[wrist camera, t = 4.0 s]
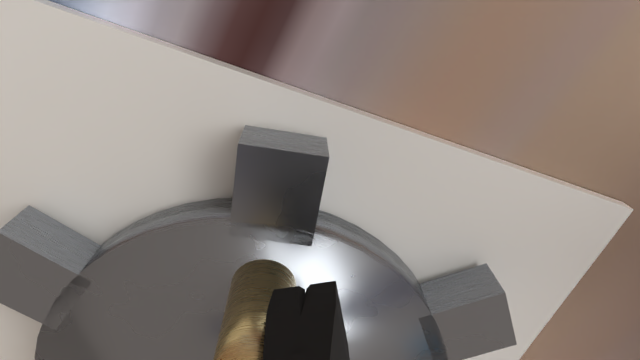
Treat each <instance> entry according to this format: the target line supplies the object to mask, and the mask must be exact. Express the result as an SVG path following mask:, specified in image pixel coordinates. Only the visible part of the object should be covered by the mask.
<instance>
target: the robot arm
mask: <svg viewBox="0 0 640 360" xmlns="http://www.w3.org/2000/svg"><path fill="white" fill-rule="evenodd" d="M263 360H350V357H349V348H348V341H347V336H346V331H345V326H344V320H343V315H342V310H341V305H340V300H339V294H338V289H337V284H336V281H330V282H323V283H316V284H310V285H309V286H308V288H307V289H306V293H305V289H303V288H302V287H300V286H295V287H288V288H281V289H274V290H273V293H272V296H271V299H270V302H269V305H268V309H267V313H266V324H265V335H264V348H263Z"/></svg>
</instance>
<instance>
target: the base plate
mask: <svg viewBox="0 0 640 360" xmlns="http://www.w3.org/2000/svg"><path fill="white" fill-rule="evenodd" d="M245 125H248V126H255V127H261V128H268V129H274V130H280V131H287V132H293V133H300V134H306V135H313V136H319V137H326V138H327V144H328V151H329V162H328V167H327V172H326V177H325V182H324V187H323V192H322V197H321V202H320V207H319V210H321V211H324V212H327V213H330V214H333V215H335V216H337V217H340V218H342V219H344V220H346V221H348V222H350V223H353V224H355V225H357V226H358V227H360V228H362V229H363V230H365V231H366V232H368V233H370V234H371V235H373V236H374V237H376V238H378V239H379V240H380V241H381V242H382V243H384V244H385V245H386V246H387V247H388V248H390V249H391V250H392V251H393V252H394V253H396V254H397V255H398V256H399V258H400V259H401V260H402V261H403V262H404V263H405V264H406V265H407V267H408V268H409V269H410V270H411V271H412V272H413V274H414V276H415V277H416V279H417V280H418V282H419V283H424V282H427V281H430V280H433V279H437V278H440V277H443V276H447V275H450V274H453V273H456V272H460V271H463V270H466V269H469V268H473V267H476V266H479V265H482V264H486V263H487V265H488V266H489V268H490V269H491V271H492V273H493V274H494V276H495V277H496V279H497V280H498V282H499V283H500V285H501V286H502V288H503V290H504V291H505V293H506V297H507V302H508V306H509V311H510V315H511V320H512V325H513V329H514V334H515V338H516V343H517V345H514V346H510V347H507V348H503V349H500V350H496V351H492V352H489V353H485V354H482V355H478V356H475V357H471V358H467V359H464V360H519V359H520V358H521V356H522V355H523V354H524V353H525V351H526V350H527V349H528V347H529V346H530V345H531V343H532V342H533V341H534V339H535V338H536V337H537V336H538V334H539V333H540V332H541V330H542V329H543V328H544V326H545V325H546V324H547V322H548V321H549V320H550V319H551V317H552V316H553V315H554V313H555V312H556V311H557V309H558V308H559V307H560V306H561V304H562V303H563V302H564V300H565V299H566V298H567V296H568V295H569V294H570V292H571V291H572V290H573V289H574V287H575V286H576V285H577V283H578V282H579V281H580V279H581V278H582V277H583V275H584V274H585V273H586V272H587V270H588V269H589V268H590V266H591V265H592V264H593V262H594V261H595V260H596V258H597V257H598V256H599V255H600V253H601V252H602V251H603V249H604V248H605V247H606V245H607V244H608V243H609V241H610V240H611V239H612V238H613V236H614V235H615V234H616V232H617V231H618V230H619V228H620V227H621V226H622V224H623V223H624V222H625V221H626V219H627V218H628V217H629V215H630V214H631V213H632V211H633V210H634V209H632V208H631V207H629V206H628V205H627V204H625V203H624V202H622V201H619V200H616V199H613V198H610V197H607V196H604V195H602V194H599V193H596V192H593V191H590V190H587V189H584V188H582V187H579V186H576V185H573V184H570V183H567V182H565V181H562V180H559V179H556V178H553V177H550V176H547V175H545V174H542V173H539V172H536V171H533V170H530V169H527V168H525V167H522V166H519V165H516V164H513V163H510V162H507V161H505V160H502V159H499V158H496V157H493V156H490V155H488V154H485V153H482V152H479V151H476V150H473V149H470V148H468V147H465V146H462V145H459V144H456V143H453V142H450V141H448V140H445V139H442V138H439V137H436V136H433V135H431V134H428V133H425V132H422V131H419V130H416V129H413V128H411V127H408V126H405V125H402V124H399V123H396V122H393V121H391V120H388V119H385V118H382V117H379V116H376V115H374V114H371V113H368V112H365V111H362V110H359V109H356V108H354V107H351V106H348V105H345V104H342V103H339V102H336V101H334V100H331V99H328V98H325V97H322V96H319V95H316V94H314V93H311V92H308V91H305V90H302V89H299V88H297V87H294V86H291V85H288V84H285V83H282V82H279V81H277V80H274V79H271V78H268V77H265V76H262V75H259V74H257V73H254V72H251V71H248V70H245V69H242V68H240V67H237V66H234V65H231V64H228V63H225V62H222V61H220V60H217V59H214V58H211V57H208V56H205V55H202V54H200V53H197V52H194V51H191V50H188V49H185V48H182V47H180V46H177V45H174V44H171V43H168V42H165V41H163V40H160V39H157V38H154V37H151V36H148V35H145V34H143V33H140V32H137V31H134V30H131V29H128V28H125V27H123V26H120V25H117V24H114V23H111V22H108V21H106V20H103V19H100V18H97V17H94V16H91V15H88V14H86V13H83V12H80V11H77V10H74V9H71V8H68V7H66V6H63V5H60V4H57V3H54V2H51V1H48V0H0V229H1V228H2V227H3V226H4V225H5V224H7V223H8V222H9V221H10V220H11V219H13V218H14V217H15V216H16V215H18V214H19V213H20V212H21V211H22V210H24V209H25V208H26V207H27V206H28V205H30V206H32V207H33V208H35V209H37V210H39V211H40V212H42V213H44V214H46V215H48V216H49V217H51V218H53V219H55V220H56V221H58V222H60V223H62V224H63V225H65V226H67V227H69V228H71V229H72V230H74V231H76V232H78V233H79V234H81V235H83V236H85V237H86V238H88V239H90V240H92V241H94V242H95V243H97V244H99V245H102V244H103V243H104V242H105V241H107V240H108V239H109V238H110V237H111V236H113V235H114V234H116V233H117V232H119V231H121V230H122V229H124V228H126V227H127V226H129V225H130V224H132V223H134V222H135V221H138V220H140V219H142V218H145V217H147V216H149V215H152V214H154V213H156V212H159V211H161V210H165V209H168V208H172V207H175V206H179V205H182V204H186V203H191V202H197V201H204V200H210V199H217V198H233V188H234V178H235V168H236V158H237V147H238V142H239V139H240V137H241V134H242V132H243V129H244V127H245ZM41 326H42V323H40V322H38V321H36V320H34V319H32V318H30V317H28V316H25V315H23V314H21V313H19V312H17V311H15V310H13V309H11V308H9V307H7V306H5V305H3V304H1V303H0V360H35V358H34V357H35V350H36V343H37V337H38V334H39V332H40V329H41Z"/></svg>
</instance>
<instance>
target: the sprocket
mask: <svg viewBox="0 0 640 360" xmlns="http://www.w3.org/2000/svg"><path fill="white" fill-rule="evenodd" d="M328 162H329V151H328V144H327V138H326V137H319V136H313V135H306V134H300V133H293V132H287V131H280V130H274V129H268V128H261V127H255V126H248V125H245V127H244V129H243V132H242V134H241V137H240V139H239V142H238V147H237V158H236V168H235V178H234V188H233V198H217V199H210V200H204V201H197V202H191V203H186V204H182V205H179V206H175V207H172V208H168V209H165V210H161V211H159V212H156V213H154V214H152V215H149V216H147V217H145V218H142V219H140V220H138V221H135V222H134V223H132V224H130V225H129V226H127V227H126V228H124V229H122V230H121V231H119V232H117V233H116V234H114V235H113V236H111V237H110V238H109V239H108V240H107V241H105V242H104V243H103V244H102V245H99V244H97V243H95V242H94V241H92V240H90V239H88V238H86V237H85V236H83V235H81V234H79V233H78V232H76V231H74V230H72V229H71V228H69V227H67V226H65V225H63V224H62V223H60V222H58V221H56V220H55V219H53V218H51V217H49V216H48V215H46V214H44V213H42V212H40V211H39V210H37V209H35V208H33V207H32V206H30V205H28V206H27V207H26V208H25V209H24V210H22V211H21V212H20V213H19V214H18V215H16V216H15V217H14V218H13V219H11V220H10V221H9V222H8V223H7V224H5V225H4V226H3V227H2V228H1V229H0V303H1V304H3V305H5V306H7V307H9V308H11V309H13V310H15V311H17V312H19V313H21V314H23V315H25V316H28V317H30V318H32V319H34V320H36V321H38V322H40V323H42V326H41V329H40V332H39V334H38V337H37V343H36V350H35V357H34V358H35V360H263V348H264V335H265V324H266V313H267V309H268V305H269V302H270V299H271V296H272V293H273V290H274V289H281V288H288V287H295V286H300V287H302V288H303V289H305V293H306V289H307V288H308V286H309V285H310V284H316V283H323V282H330V281H336V284H337V289H338V294H339V300H340V305H341V310H342V315H343V320H344V326H345V331H346V336H347V341H348V348H349V357H350V360H464V359H467V358H471V357H475V356H478V355H482V354H485V353H489V352H492V351H496V350H500V349H503V348H507V347H510V346H514V345H517V343H516V338H515V334H514V329H513V325H512V320H511V315H510V311H509V306H508V302H507V297H506V293H505V291H504V290H503V288H502V286H501V285H500V283H499V282H498V280H497V279H496V277H495V276H494V274H493V273H492V271H491V269H490V268H489V266H488V265H487V263H486V264H482V265H479V266H476V267H473V268H469V269H466V270H463V271H460V272H456V273H453V274H450V275H447V276H443V277H440V278H437V279H433V280H430V281H427V282H424V283H419V282H418V280H417V279H416V277H415V276H414V274H413V272H412V271H411V270H410V269H409V268H408V267H407V265H406V264H405V263H404V262H403V261H402V260H401V259H400V258H399V256H398V255H397V254H396V253H394V252H393V251H392V250H391V249H390V248H388V247H387V246H386V245H385V244H384V243H382V242H381V241H380V240H379V239H378V238H376V237H374V236H373V235H371V234H370V233H368V232H366V231H365V230H363V229H362V228H360V227H358V226H357V225H355V224H353V223H350V222H348V221H346V220H344V219H342V218H340V217H337V216H335V215H333V214H330V213H327V212H324V211H321V210H319V207H320V202H321V197H322V192H323V187H324V182H325V177H326V172H327V167H328Z"/></svg>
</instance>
